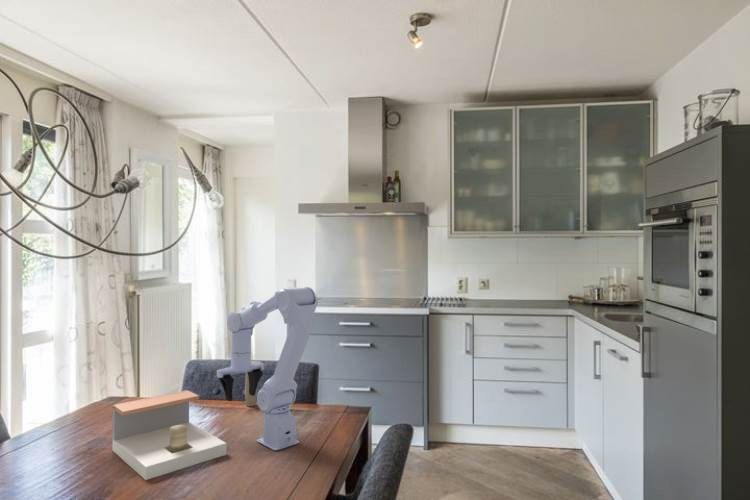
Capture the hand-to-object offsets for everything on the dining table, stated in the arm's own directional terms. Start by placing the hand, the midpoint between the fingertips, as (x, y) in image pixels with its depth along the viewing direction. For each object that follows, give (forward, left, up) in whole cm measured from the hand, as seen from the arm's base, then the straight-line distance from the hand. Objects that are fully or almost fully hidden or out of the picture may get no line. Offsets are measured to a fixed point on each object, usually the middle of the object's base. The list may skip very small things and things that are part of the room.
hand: (240, 397), depth 142 cm
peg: (-8, +22, -9) cm, 25 cm away
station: (-2, +22, -9) cm, 24 cm away
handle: (+18, -14, -10) cm, 25 cm away
